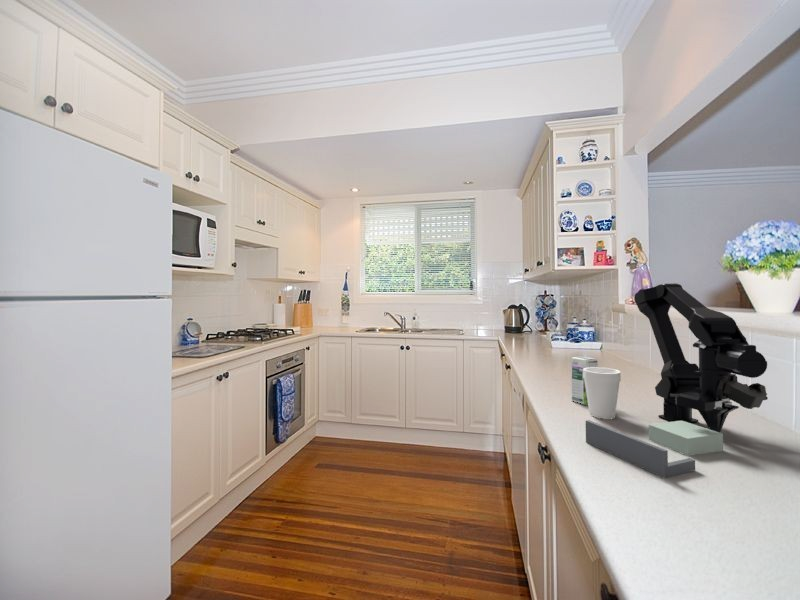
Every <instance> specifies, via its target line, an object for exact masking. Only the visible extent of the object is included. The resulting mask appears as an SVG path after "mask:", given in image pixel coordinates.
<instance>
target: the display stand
mask: <svg viewBox="0 0 800 600" xmlns="http://www.w3.org/2000/svg"><path fill="white" fill-rule="evenodd" d="M585 443H587V444H589V445H591V446H594V447H596V448H598V449H600V450H603V451H605V452H607V453H609V454H611V455H614V456H615V457H618V458H620V459H622V460H624V461H626V462H629V463H631V464H633V465H635V466H637V467H639V468H642V469H644V470H646V471H648V472H650V473H653V474H654V475H657V476H659V477H662V478H664V479H665V478H669V477H670V478H671V477H674V476H678V475H681V474H686V473H690V472H694V471H696V459H693V458H691V457H689V458H684V459H678V460H674V461H669V462H668V460H669V457H668V450H667V449H665V448H662V447H660V446H657V445H655V444H653V443H650V442H647V441H644V440H641V439H638V438H636V437H634V436H631V435H628V434H626V433H623V432H621V431H618V430H617V429H615V428H610V427H608V426H605V425H603V424H600V423H598V422H594V421H593V420H590V419H587V420H585Z"/></svg>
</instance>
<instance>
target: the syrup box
mask: <svg viewBox="0 0 800 600" xmlns="http://www.w3.org/2000/svg"><path fill="white" fill-rule="evenodd" d="M598 361H599V359H598V358H593V357H587V356H586V357H585V356H573V357H571V358H570V362H571V363H570V365H571V366H570V368H571V370H570V371H571V373H570V374H571V380H570V381H571V402H573V401H574V403H577V402H578V403H577V404H580V403H581V404H580V405H583V406H584V405H585V406H588V400H587V394H586V387H585V381H584V378H583V369H584V368H590V367H598ZM598 368H599V367H598Z"/></svg>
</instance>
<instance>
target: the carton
mask: <svg viewBox="0 0 800 600" xmlns="http://www.w3.org/2000/svg"><path fill="white" fill-rule="evenodd" d="M648 440H649V441H650V440H651V442H653V443H656V444H658V445H660V446H663V447H666V448H667V447H668V449H670V448H671V449H670V450H672V449H673V451H675V450H676V451H675V452H677V451H678V452H677V453H680V452H681V453H680V454H682V453H683V455H685V456H688V457H689V455H691V456H696V455H695V454H697V455H704V454H709V452H711V453H716V451H717V452H723V451H724V433H722V432H720V433H719V432H716V431H713V430H710V429H709V428H706V427H703V426H700V425H697V424H694V423H688V422H685V421H674V422H673V421H667V422H658V423H651V424H648ZM703 453H704V454H703Z"/></svg>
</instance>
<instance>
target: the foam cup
mask: <svg viewBox="0 0 800 600" xmlns="http://www.w3.org/2000/svg"><path fill="white" fill-rule="evenodd" d="M583 378H584V381H585V387H586V394H587V400H588V405H587V406H588V412H589V415H590V416H591V417H593V416H594V417H593V418H595V417H597V418H596V419H600V418H603V419H602V420H612V419H611V418H614V419H615V417H616V410H617V405H618V398H619V397H618V396H619V390H620V383H621V378H622V376H621V370H618V369H616V368H615V369H614V368H608V367H590V368H584V369H583Z"/></svg>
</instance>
